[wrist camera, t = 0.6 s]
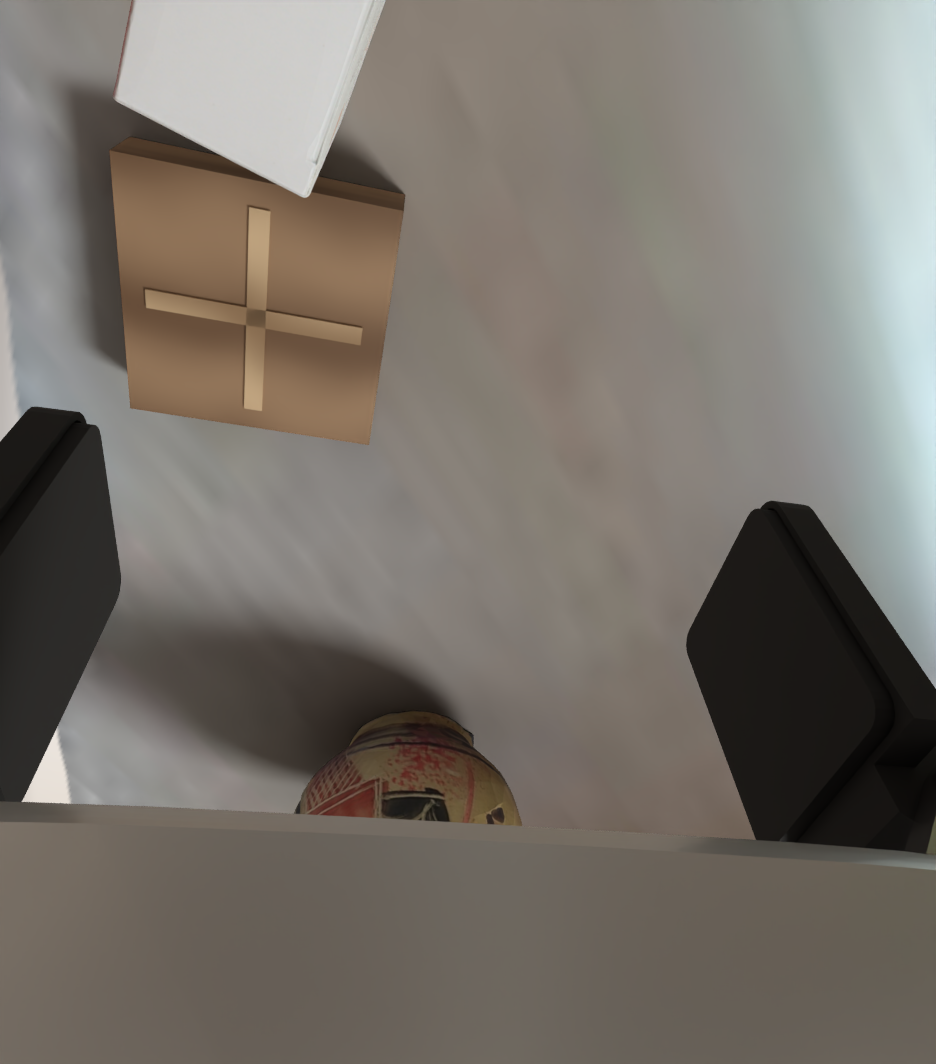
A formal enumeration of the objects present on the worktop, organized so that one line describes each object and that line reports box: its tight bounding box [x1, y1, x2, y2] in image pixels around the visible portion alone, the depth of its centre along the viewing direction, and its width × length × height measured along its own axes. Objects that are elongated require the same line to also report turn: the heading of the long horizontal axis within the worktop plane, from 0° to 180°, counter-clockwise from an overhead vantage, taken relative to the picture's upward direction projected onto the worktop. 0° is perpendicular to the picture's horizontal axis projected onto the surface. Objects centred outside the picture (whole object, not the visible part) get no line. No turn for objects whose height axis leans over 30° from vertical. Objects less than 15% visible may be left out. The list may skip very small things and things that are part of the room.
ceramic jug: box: [294, 711, 522, 826], centre depth 44 cm, size 17×15×30 cm
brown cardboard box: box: [109, 137, 405, 445], centre depth 33 cm, size 11×11×2 cm
